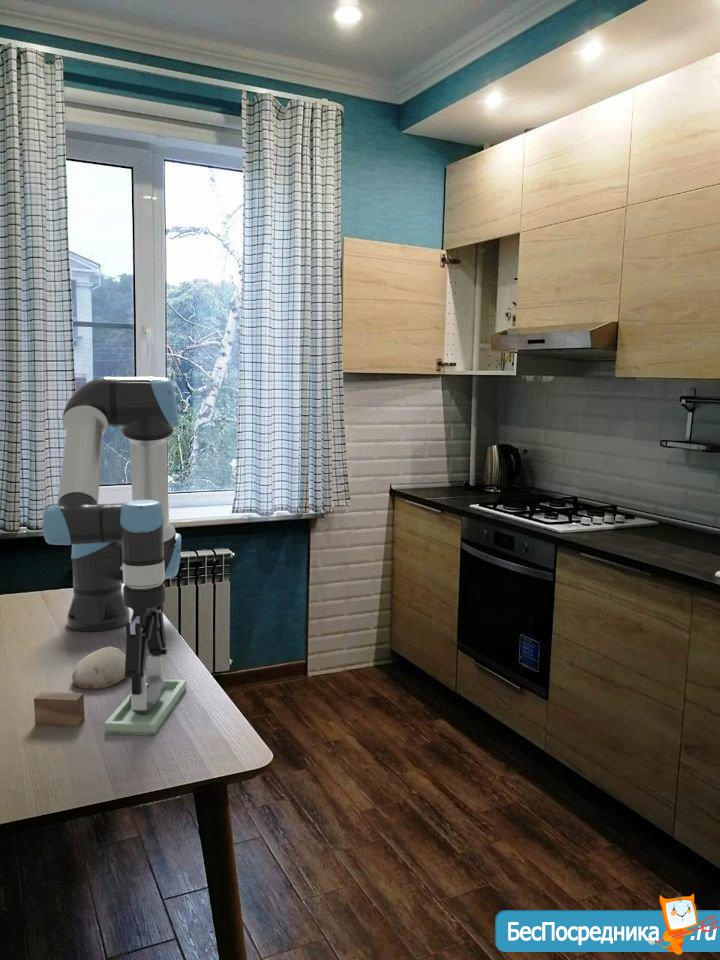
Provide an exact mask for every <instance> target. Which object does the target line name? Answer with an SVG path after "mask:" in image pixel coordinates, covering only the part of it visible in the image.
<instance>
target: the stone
mask: <svg viewBox="0 0 720 960" xmlns="http://www.w3.org/2000/svg"><path fill="white" fill-rule="evenodd" d="M125 661H126V653H124V652H123V651H122V650H121V649H119V648H117V647H114V646H107V647H101V648H99V649H98V650H95V651H93V652H91V653H89V654H87V655H86V656H85V657H82V659H80V660H79V662H78V663H76V665H75V666H74V669H73V671H72V676H71V678H72V682H73V684H75V686H76V687H79V688H80V689H91V690H97V689H99V690H100V689H105V688H109V687H111V686H114V685H116V684H118V683H119V682H121V681H123V680H124V679H125V675H124V674H125Z"/></svg>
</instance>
